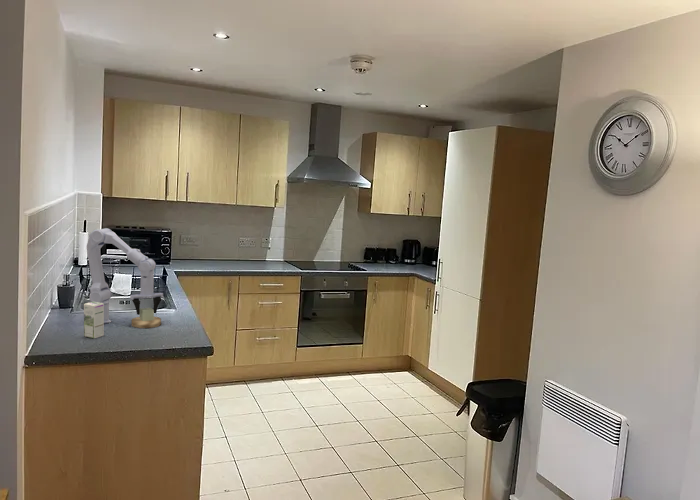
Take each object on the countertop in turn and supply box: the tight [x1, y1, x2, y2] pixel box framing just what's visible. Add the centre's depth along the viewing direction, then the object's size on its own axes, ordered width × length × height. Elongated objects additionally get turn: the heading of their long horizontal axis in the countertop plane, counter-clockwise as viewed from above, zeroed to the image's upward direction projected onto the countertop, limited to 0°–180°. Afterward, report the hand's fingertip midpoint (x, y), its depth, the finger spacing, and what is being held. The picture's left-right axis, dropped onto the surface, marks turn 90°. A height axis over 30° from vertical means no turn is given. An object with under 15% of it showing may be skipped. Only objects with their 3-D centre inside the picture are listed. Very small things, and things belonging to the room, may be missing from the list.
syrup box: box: [83, 301, 105, 339], centre depth 229 cm, size 6×6×14 cm
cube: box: [139, 307, 155, 321], centre depth 252 cm, size 5×5×5 cm
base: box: [131, 316, 162, 329], centre depth 253 cm, size 13×13×2 cm
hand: (146, 313), depth 252 cm, fingers open, 7 cm apart
